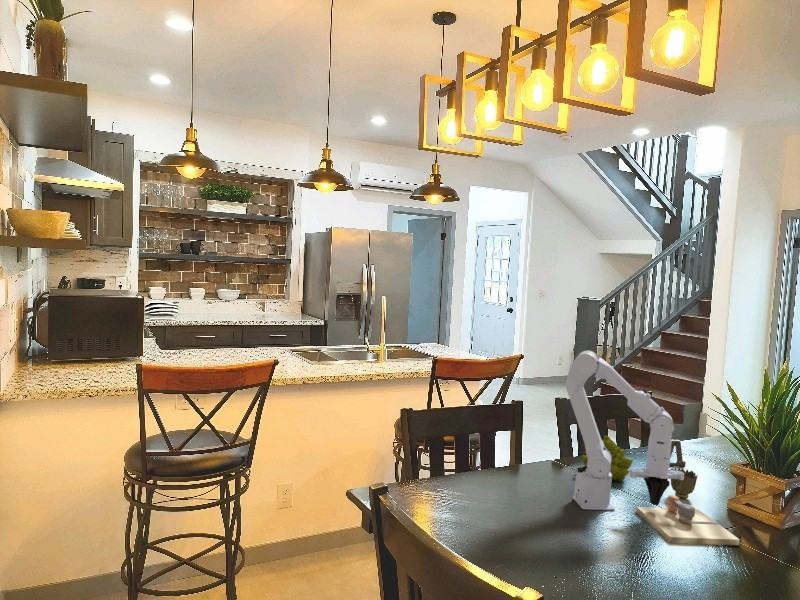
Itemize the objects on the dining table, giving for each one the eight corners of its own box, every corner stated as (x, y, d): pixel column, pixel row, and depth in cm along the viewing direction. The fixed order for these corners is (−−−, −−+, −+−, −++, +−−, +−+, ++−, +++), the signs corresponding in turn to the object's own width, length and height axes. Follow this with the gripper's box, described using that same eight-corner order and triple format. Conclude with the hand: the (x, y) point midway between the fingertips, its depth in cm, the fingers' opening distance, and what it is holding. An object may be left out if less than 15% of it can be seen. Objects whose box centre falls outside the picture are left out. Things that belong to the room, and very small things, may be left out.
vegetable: (567, 463, 187) (591, 425, 190) (585, 480, 197) (608, 443, 199) (605, 487, 176) (631, 446, 178) (623, 503, 185) (647, 464, 188)
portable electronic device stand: (660, 466, 203) (662, 443, 203) (650, 459, 211) (652, 436, 211) (685, 468, 203) (687, 444, 203) (674, 460, 211) (676, 438, 211)
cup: (698, 504, 170) (700, 477, 170) (671, 500, 172) (674, 474, 171) (690, 494, 178) (693, 469, 177) (665, 491, 179) (667, 466, 178)
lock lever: (697, 523, 151) (698, 510, 151) (682, 523, 151) (683, 509, 151) (677, 508, 161) (678, 495, 161) (663, 507, 160) (664, 494, 160)
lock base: (670, 542, 143) (671, 529, 143) (636, 512, 161) (637, 499, 161) (739, 545, 145) (740, 531, 144) (697, 514, 162) (699, 502, 162)
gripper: (640, 459, 154) (635, 508, 154) (692, 461, 155) (687, 510, 155) (628, 450, 161) (623, 498, 161) (678, 453, 162) (673, 500, 162)
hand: (654, 503), depth 159 cm, fingers closed
